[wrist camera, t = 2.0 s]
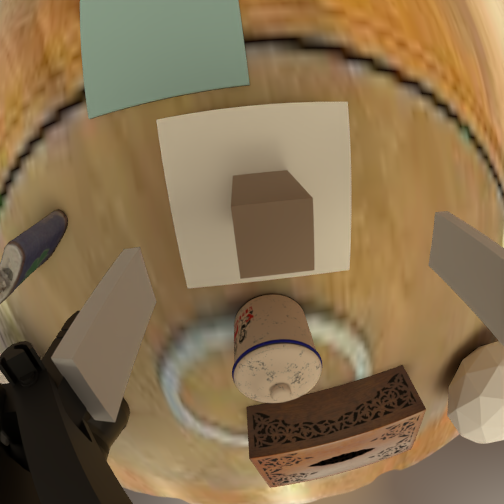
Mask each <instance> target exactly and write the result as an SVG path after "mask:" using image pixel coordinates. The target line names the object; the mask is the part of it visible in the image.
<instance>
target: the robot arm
mask: <svg viewBox="0 0 504 504" xmlns="http://www.w3.org/2000/svg"><path fill="white" fill-rule="evenodd" d="M429 266H430V267H431V268H432V269H433V270H434V271H435V272H436V273H437V274H438V275H439V276H440V277H441V278H442V279H443V280H444V281H445V282H446V283H447V284H448V285H449V286H450V287H451V288H452V289H453V290H454V291H455V293H456V294H457V295H458V296H459V297H460V298H461V299H462V300H463V301H464V302H465V303H466V304H467V305H468V306H469V307H470V308H471V310H472V311H473V312H474V313H475V314H476V315H477V316H478V317H479V318H480V320H481V321H482V322H483V323H484V324H485V325H486V326H487V327H488V329H489V330H490V331H491V332H492V333H493V334H494V336H495V337H496V338H497V339H498V340H499V342H500V343H501V344H502V345H503V346H504V248H503V247H501V246H500V245H499V244H497V243H496V242H494V241H493V240H491V239H490V238H488V237H487V236H486V235H484V234H483V233H481V232H480V231H478V230H477V229H475V228H473V227H472V226H470V225H469V224H467V223H466V222H464V221H463V220H461V219H459V218H458V217H456V216H454V215H453V214H451V213H450V212H448V211H444V212H435V221H434V230H433V238H432V246H431V253H430V259H429ZM155 304H156V299H155V296H154V293H153V289H152V286H151V283H150V280H149V277H148V273H147V270H146V267H145V263H144V260H143V256H142V253H141V249H140V247H136V248H129V249H124V250H123V251H122V252H121V254H120V255H119V256H118V258H117V259H116V260H115V262H114V263H113V265H112V266H111V267H110V269H109V270H108V271H107V273H106V274H105V276H104V277H103V278H102V280H101V281H100V283H99V284H98V285H97V287H96V288H95V290H94V291H93V293H92V294H91V296H90V297H89V299H88V300H87V301H86V303H85V304H84V306H83V307H82V309H81V310H80V311H77V312H76V313H74V314H73V315H72V316H71V317H70V318H69V319H68V320H67V321H66V323H65V324H64V326H63V327H62V329H61V331H60V332H59V333H58V335H57V336H56V337H57V338H56V339H55V340H54V341H53V343H52V344H51V346H50V347H49V349H48V351H47V352H46V354H45V356H44V357H43V359H42V361H41V360H40V358H39V356H38V355H37V353H36V351H35V350H34V348H33V346H32V345H31V343H29V342H26V341H24V342H18V343H15V344H13V345H11V346H10V347H8V348H7V349H6V350H5V351H4V352H3V353H2V354H1V356H0V370H1V372H2V373H3V374H4V376H5V377H6V379H7V380H8V381H9V383H7V384H1V383H0V504H133V503H132V502H131V500H130V499H129V497H128V496H127V494H126V493H125V491H124V490H123V488H122V486H121V485H120V483H119V482H118V480H117V478H116V477H115V475H114V473H113V472H112V470H111V468H110V466H109V465H108V463H107V457H108V454H109V450H110V447H111V445H112V444H113V443H114V441H115V440H116V439H117V437H118V436H119V434H120V433H121V431H122V430H123V429H124V428H125V427H126V425H127V422H128V418H129V414H130V411H129V407H128V405H127V403H126V402H125V400H124V399H123V395H124V392H125V389H126V386H127V383H128V380H129V377H130V374H131V371H132V368H133V365H134V362H135V359H136V356H137V353H138V350H139V347H140V345H141V342H142V339H143V336H144V333H145V331H146V328H147V325H148V323H149V320H150V317H151V315H152V312H153V309H154V307H155Z"/></svg>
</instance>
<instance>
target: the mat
mask: <svg viewBox="0 0 504 504" xmlns="http://www.w3.org/2000/svg"><path fill="white" fill-rule="evenodd" d="M80 33H81V52H82V66H83V77H84V86H85V95H86V103H87V110H88V117H89V119H92V118H95V117H98V116H101V115H105V114H108V113H111V112H115V111H118V110H122V109H125V108H129V107H133V106H137V105H141V104H145V103H149V102H153V101H157V100H162V99H166V98H171V97H176V96H181V95H186V94H192V93H197V92H203V91H209V90H216V89H223V88H230V87H238V86H247V85H250V83H249V76H248V68H247V60H246V53H245V45H244V38H243V31H242V23H241V16H240V9H239V2H238V0H80Z"/></svg>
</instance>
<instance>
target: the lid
mask: <svg viewBox="0 0 504 504" xmlns="http://www.w3.org/2000/svg"><path fill="white" fill-rule="evenodd" d="M156 121H157V128H158V135H159V142H160V149H161V155H162V161H163V168H164V174H165V180H166V185H167V191H168V197H169V202H170V207H171V213H172V218H173V223H174V228H175V233H176V238H177V243H178V247H179V252H180V257H181V261H182V266H183V270H184V275H185V279H186V283H187V287H188V288H198V287H208V286H218V285H228V284H237V283H246V282H255V281H264V280H273V279H281V278H290V277H298V276H306V275H314V274H322V273H330V272H338V271H345V270H349V267H350V245H351V150H350V129H349V113H348V102H299V103H279V104H265V105H253V106H243V107H234V108H225V109H217V110H210V111H203V112H197V113H190V114H184V115H179V116H173V117H168V118H162V119H157V120H156Z"/></svg>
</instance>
